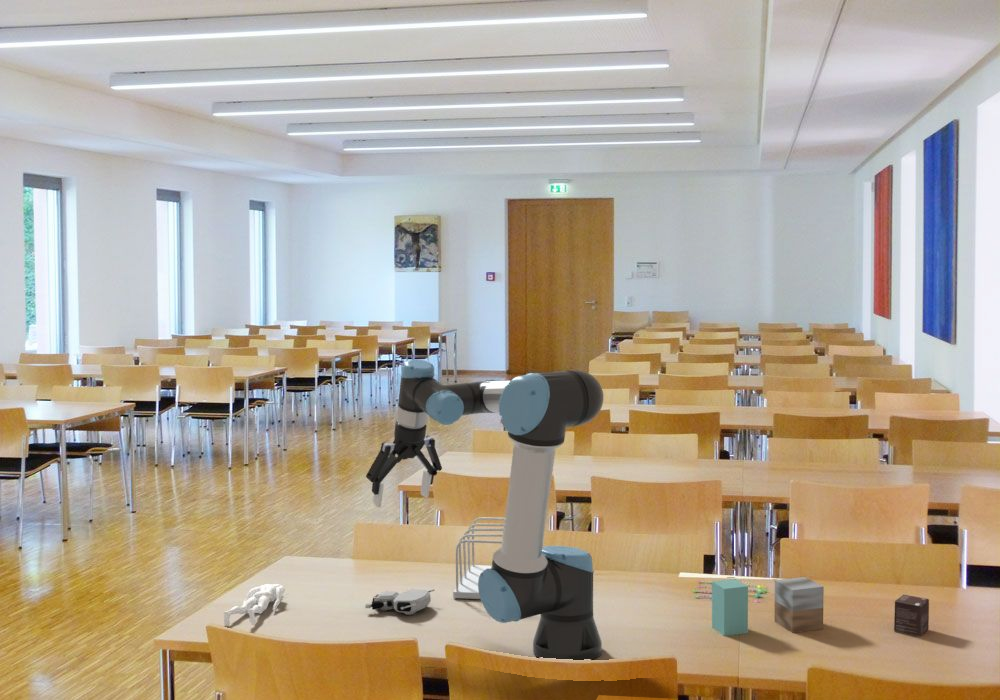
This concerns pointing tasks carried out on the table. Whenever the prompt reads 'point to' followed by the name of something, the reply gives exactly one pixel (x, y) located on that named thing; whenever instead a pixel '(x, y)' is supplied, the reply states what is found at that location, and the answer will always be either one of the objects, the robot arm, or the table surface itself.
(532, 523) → the robot arm
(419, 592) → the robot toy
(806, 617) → the grey wood-grain cube
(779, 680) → the table surface
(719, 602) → the teal brick
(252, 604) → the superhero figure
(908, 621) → the box
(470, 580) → the file sorter
